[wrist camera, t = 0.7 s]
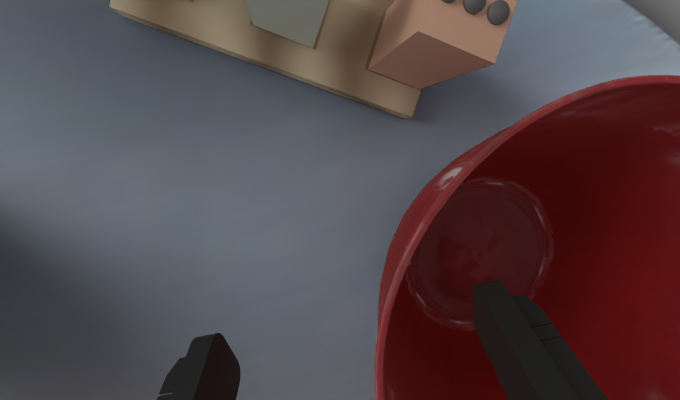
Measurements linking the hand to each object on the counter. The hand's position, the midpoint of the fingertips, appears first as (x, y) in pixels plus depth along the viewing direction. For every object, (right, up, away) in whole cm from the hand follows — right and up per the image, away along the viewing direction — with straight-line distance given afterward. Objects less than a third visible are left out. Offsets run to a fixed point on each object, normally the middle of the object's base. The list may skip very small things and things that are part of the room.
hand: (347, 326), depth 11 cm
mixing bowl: (+13, -1, +23) cm, 26 cm away
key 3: (+5, +16, +16) cm, 23 cm away
